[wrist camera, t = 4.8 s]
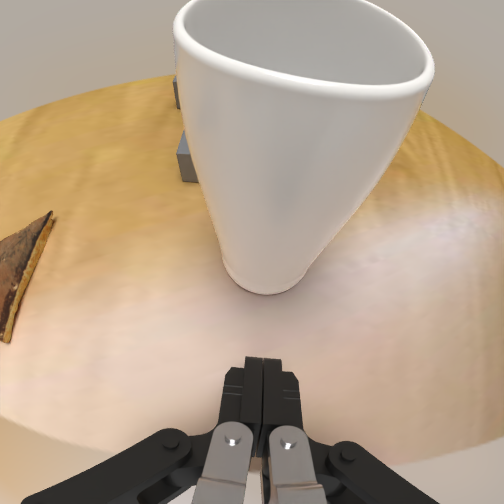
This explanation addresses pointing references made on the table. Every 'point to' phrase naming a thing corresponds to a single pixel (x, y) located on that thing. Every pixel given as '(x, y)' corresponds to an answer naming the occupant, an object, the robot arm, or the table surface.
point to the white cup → (292, 121)
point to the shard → (19, 268)
